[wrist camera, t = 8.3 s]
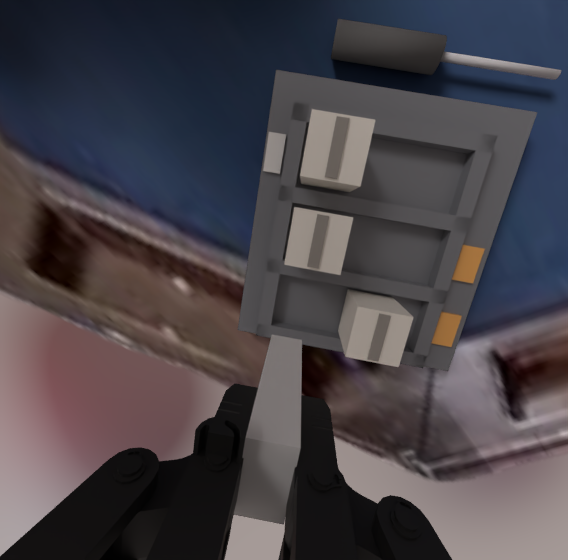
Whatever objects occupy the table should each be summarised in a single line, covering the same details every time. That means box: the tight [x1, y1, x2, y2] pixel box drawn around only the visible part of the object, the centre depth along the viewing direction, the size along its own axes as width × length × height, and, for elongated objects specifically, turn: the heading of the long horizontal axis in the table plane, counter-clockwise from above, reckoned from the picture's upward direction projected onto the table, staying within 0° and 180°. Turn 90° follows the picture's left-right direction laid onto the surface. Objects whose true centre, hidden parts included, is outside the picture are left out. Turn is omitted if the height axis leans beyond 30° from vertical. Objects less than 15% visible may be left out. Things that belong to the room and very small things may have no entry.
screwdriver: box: [331, 19, 561, 80], centre depth 22 cm, size 17×2×2 cm, turn 80°
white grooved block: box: [284, 207, 353, 275], centre depth 22 cm, size 4×4×5 cm
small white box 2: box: [338, 289, 414, 367], centre depth 23 cm, size 4×4×5 cm
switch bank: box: [238, 70, 537, 371], centre depth 25 cm, size 20×22×3 cm
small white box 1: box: [300, 109, 375, 192], centre depth 21 cm, size 4×4×5 cm
